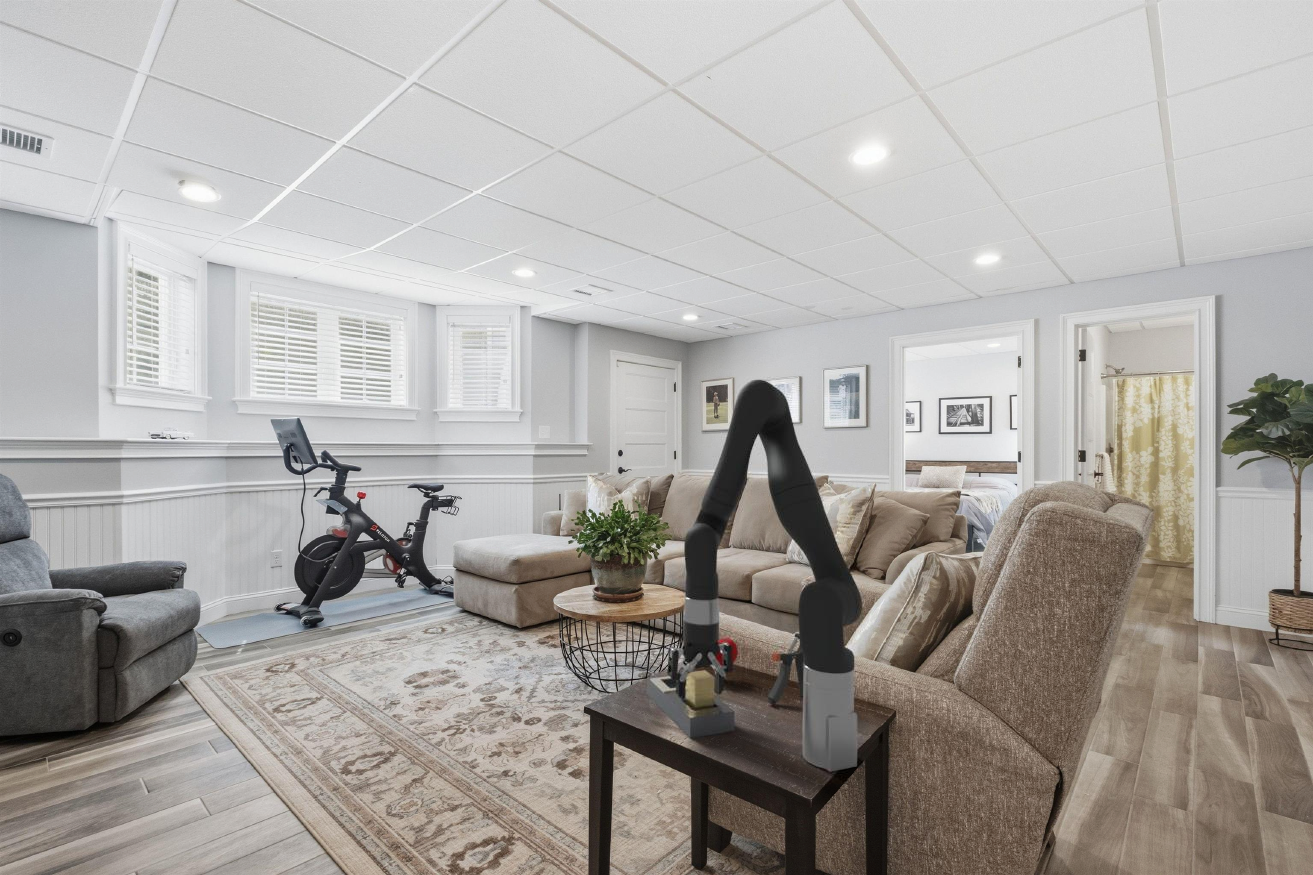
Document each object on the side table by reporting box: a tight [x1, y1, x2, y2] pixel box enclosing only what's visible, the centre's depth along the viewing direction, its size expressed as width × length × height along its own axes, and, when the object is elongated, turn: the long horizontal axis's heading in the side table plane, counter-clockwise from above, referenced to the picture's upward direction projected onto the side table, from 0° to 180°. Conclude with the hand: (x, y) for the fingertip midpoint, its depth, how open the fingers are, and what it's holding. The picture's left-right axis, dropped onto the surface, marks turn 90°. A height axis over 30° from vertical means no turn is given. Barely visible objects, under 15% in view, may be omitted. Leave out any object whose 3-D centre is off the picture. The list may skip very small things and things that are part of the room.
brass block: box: [686, 669, 715, 711], centre depth 130 cm, size 4×4×10 cm
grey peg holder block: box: [646, 674, 736, 739], centre depth 136 cm, size 24×10×4 cm, turn 22°
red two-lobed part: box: [714, 637, 739, 679], centre depth 156 cm, size 9×7×10 cm
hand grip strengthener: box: [766, 632, 804, 706], centre depth 143 cm, size 2×13×15 cm, turn 123°
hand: (699, 695), depth 130 cm, fingers open, 8 cm apart
